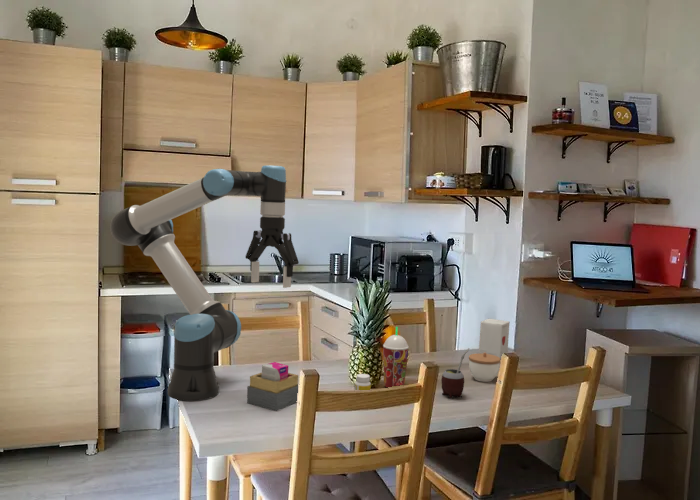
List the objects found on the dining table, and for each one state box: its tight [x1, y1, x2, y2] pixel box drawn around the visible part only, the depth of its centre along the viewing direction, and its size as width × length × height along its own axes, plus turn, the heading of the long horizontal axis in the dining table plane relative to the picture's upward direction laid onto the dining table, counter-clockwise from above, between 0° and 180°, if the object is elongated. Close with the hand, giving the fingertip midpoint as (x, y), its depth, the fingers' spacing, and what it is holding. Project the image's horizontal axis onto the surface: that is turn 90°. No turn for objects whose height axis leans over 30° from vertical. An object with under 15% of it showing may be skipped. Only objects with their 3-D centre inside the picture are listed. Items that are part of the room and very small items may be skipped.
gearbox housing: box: [246, 372, 299, 412], centre depth 186 cm, size 11×11×8 cm
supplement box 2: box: [478, 318, 510, 359], centre depth 246 cm, size 9×9×15 cm
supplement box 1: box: [261, 361, 289, 381], centre depth 186 cm, size 6×6×12 cm
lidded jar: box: [468, 352, 501, 383], centre depth 218 cm, size 11×11×9 cm
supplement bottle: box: [354, 373, 372, 391], centre depth 189 cm, size 5×5×8 cm
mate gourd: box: [440, 347, 470, 400], centre depth 198 cm, size 8×8×15 cm
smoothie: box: [382, 326, 410, 388], centre depth 205 cm, size 8×8×20 cm
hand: (270, 284), depth 196 cm, fingers open, 13 cm apart
